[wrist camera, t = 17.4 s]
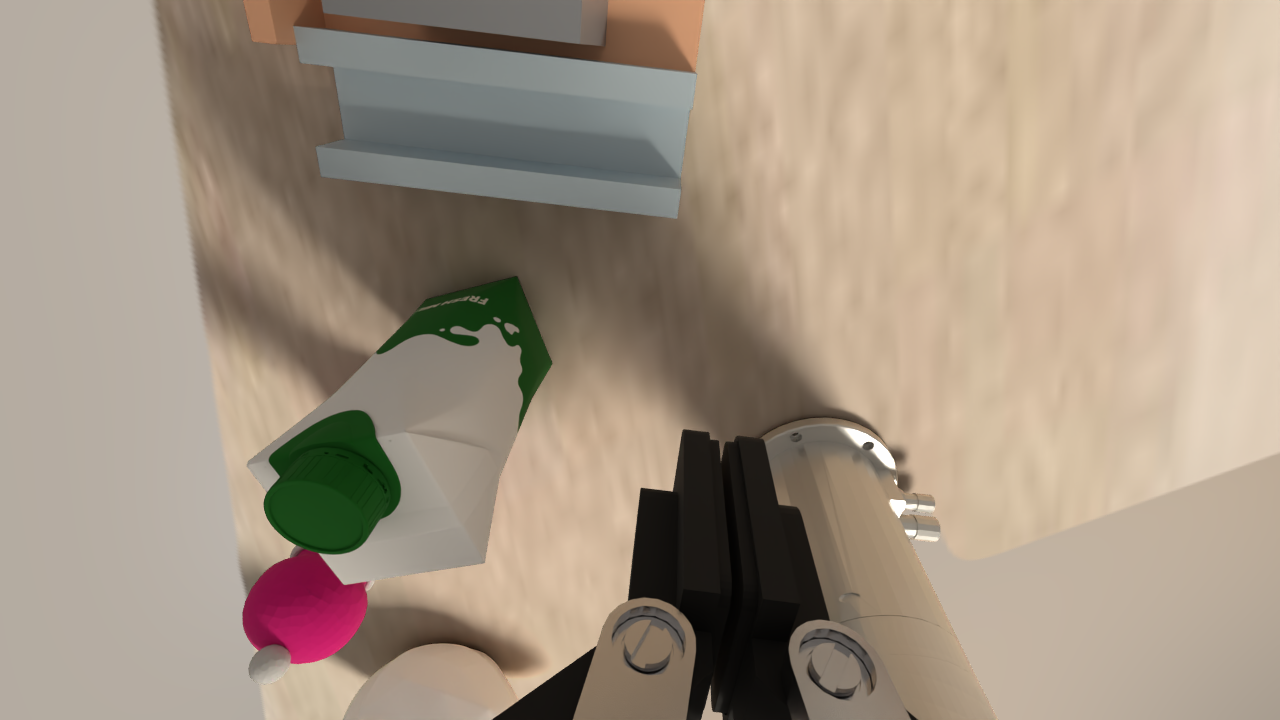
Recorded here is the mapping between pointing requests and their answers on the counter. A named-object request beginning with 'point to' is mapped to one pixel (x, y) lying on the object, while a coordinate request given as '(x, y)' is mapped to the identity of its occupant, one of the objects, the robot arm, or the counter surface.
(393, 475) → the milk carton
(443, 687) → the decorative rooster
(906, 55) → the counter surface
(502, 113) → the rack
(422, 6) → the panel
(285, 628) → the pepper mill
